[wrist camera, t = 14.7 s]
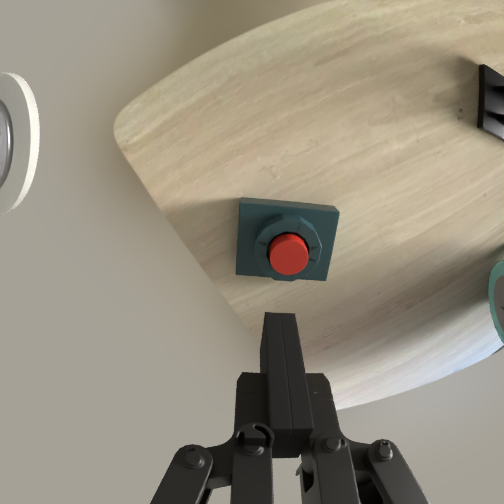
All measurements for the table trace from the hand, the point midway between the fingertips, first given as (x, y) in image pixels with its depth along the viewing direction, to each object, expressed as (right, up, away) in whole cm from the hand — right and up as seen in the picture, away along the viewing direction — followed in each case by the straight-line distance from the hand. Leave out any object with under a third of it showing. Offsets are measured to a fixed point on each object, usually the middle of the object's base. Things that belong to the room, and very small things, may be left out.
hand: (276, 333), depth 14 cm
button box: (+2, +6, +17) cm, 18 cm away
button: (+2, +4, +14) cm, 14 cm away
